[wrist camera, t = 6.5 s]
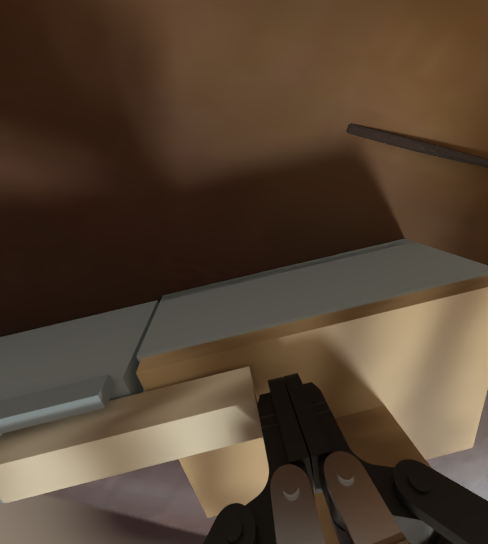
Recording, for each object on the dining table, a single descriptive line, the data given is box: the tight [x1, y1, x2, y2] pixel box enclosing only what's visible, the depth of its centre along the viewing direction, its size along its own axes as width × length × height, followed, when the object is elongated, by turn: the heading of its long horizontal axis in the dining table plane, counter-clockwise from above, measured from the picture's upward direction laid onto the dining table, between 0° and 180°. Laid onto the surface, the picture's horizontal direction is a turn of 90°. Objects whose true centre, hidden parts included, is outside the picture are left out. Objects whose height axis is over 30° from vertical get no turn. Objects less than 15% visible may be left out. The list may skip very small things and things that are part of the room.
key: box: [0, 366, 263, 503], centre depth 12 cm, size 12×2×2 cm, turn 102°
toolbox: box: [0, 239, 488, 503], centre depth 18 cm, size 33×14×9 cm, turn 102°
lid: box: [136, 275, 488, 544], centre depth 12 cm, size 20×14×8 cm
